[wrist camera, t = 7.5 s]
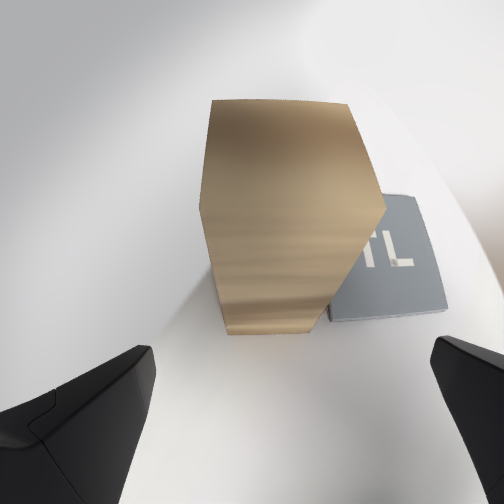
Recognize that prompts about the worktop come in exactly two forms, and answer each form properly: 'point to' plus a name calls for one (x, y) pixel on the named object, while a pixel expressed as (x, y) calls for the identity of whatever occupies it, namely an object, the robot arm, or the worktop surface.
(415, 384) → the worktop surface
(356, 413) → the worktop surface
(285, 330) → the oak block
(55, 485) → the robot arm
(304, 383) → the worktop surface
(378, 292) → the tile
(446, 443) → the worktop surface
